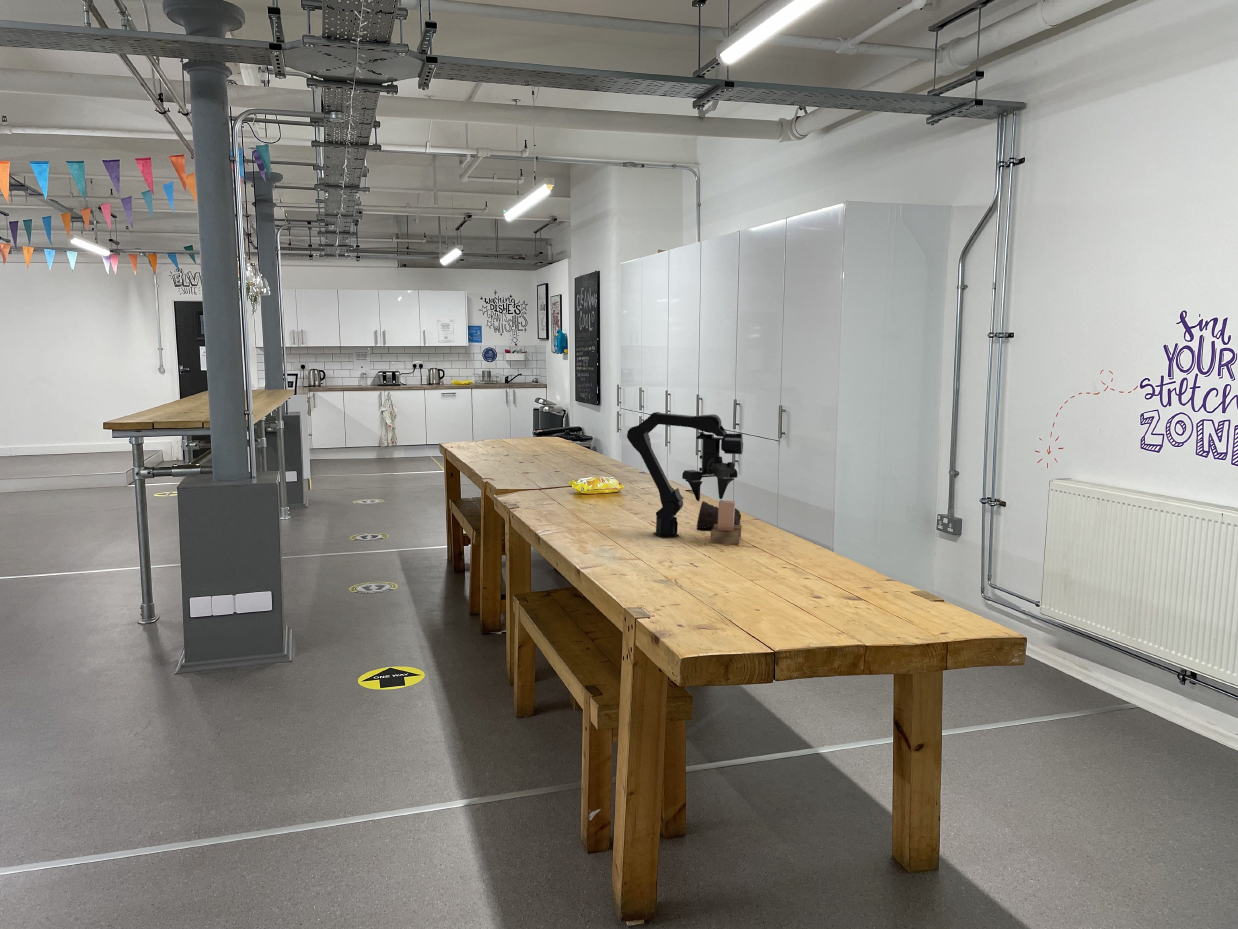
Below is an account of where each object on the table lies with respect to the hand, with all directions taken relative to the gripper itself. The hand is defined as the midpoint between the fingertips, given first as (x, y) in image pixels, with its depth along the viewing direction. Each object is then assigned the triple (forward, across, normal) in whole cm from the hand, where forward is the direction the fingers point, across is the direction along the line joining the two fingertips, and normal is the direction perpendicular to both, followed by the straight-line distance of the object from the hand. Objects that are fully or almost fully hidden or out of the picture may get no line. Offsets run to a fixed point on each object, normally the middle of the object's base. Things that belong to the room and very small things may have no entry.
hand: (709, 500), depth 284 cm
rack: (+13, +5, -3) cm, 14 cm away
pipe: (+14, +15, +14) cm, 25 cm away
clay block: (+12, +5, -3) cm, 14 cm away
